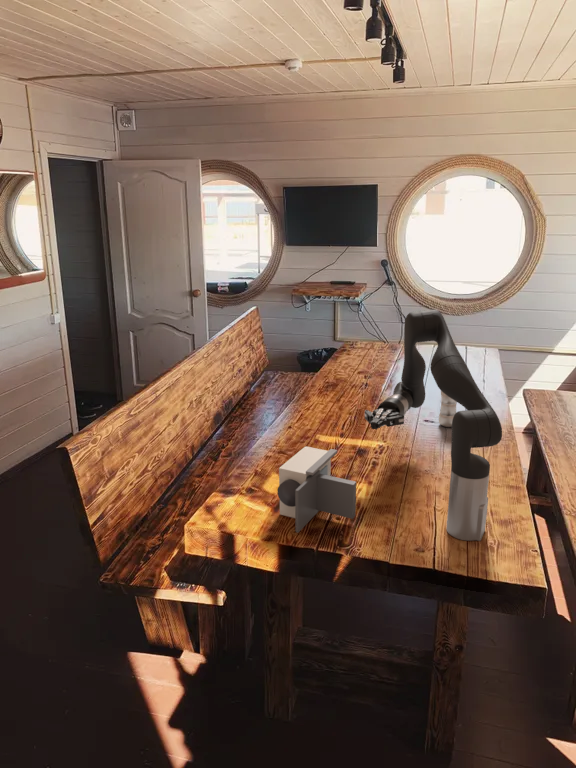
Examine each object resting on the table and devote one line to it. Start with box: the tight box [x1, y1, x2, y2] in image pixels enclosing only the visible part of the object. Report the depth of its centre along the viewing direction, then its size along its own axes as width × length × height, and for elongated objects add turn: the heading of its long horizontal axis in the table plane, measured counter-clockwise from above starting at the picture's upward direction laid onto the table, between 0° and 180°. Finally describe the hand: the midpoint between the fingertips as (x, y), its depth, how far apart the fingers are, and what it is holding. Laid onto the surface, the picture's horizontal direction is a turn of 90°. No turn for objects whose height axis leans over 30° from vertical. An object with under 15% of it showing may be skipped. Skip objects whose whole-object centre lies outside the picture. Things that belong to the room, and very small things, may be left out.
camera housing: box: [276, 446, 338, 519], centre depth 169 cm, size 10×18×15 cm, turn 152°
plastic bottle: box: [438, 390, 458, 428], centre depth 224 cm, size 6×7×20 cm
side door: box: [294, 470, 357, 534], centre depth 158 cm, size 11×13×12 cm
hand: (374, 426), depth 175 cm, fingers closed
